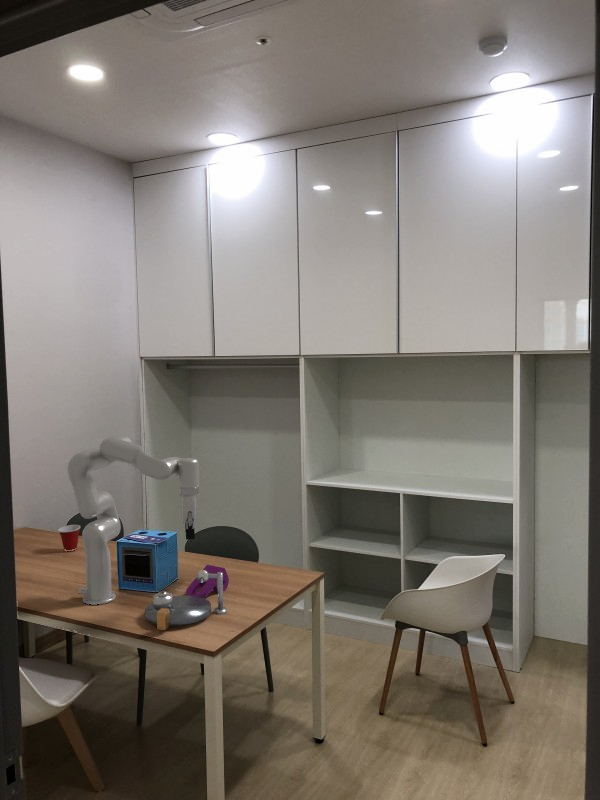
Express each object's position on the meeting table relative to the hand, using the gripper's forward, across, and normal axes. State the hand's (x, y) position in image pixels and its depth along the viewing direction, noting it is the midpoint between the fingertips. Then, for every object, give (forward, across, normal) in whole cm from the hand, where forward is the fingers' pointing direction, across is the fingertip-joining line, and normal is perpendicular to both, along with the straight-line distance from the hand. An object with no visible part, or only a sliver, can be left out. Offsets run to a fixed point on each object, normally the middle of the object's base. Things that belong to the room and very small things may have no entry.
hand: (189, 535), depth 244 cm
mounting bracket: (+29, -14, +6) cm, 33 cm away
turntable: (+27, +9, -6) cm, 29 cm away
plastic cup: (+29, -92, -58) cm, 112 cm away
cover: (+25, +5, -10) cm, 27 cm away
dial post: (+28, +5, +8) cm, 29 cm away
